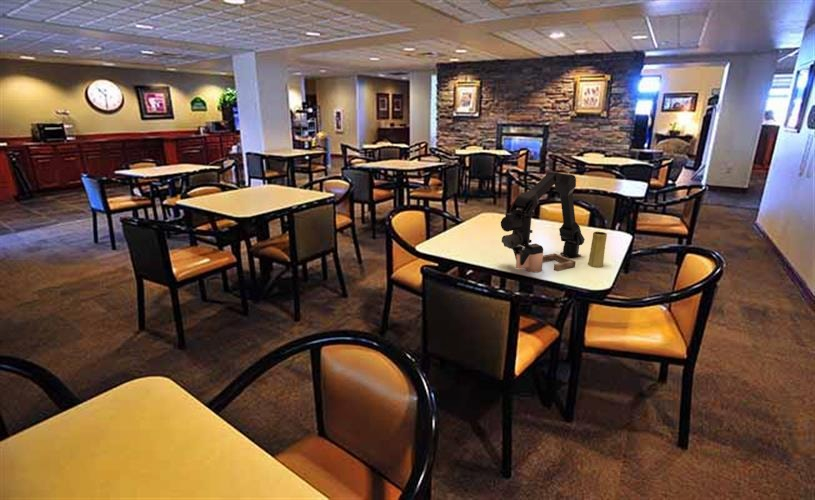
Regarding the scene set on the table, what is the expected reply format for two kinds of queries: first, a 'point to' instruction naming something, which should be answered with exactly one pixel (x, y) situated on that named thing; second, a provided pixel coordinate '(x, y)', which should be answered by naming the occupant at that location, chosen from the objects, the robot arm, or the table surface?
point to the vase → (597, 249)
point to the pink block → (531, 262)
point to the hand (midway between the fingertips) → (519, 264)
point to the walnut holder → (563, 264)
